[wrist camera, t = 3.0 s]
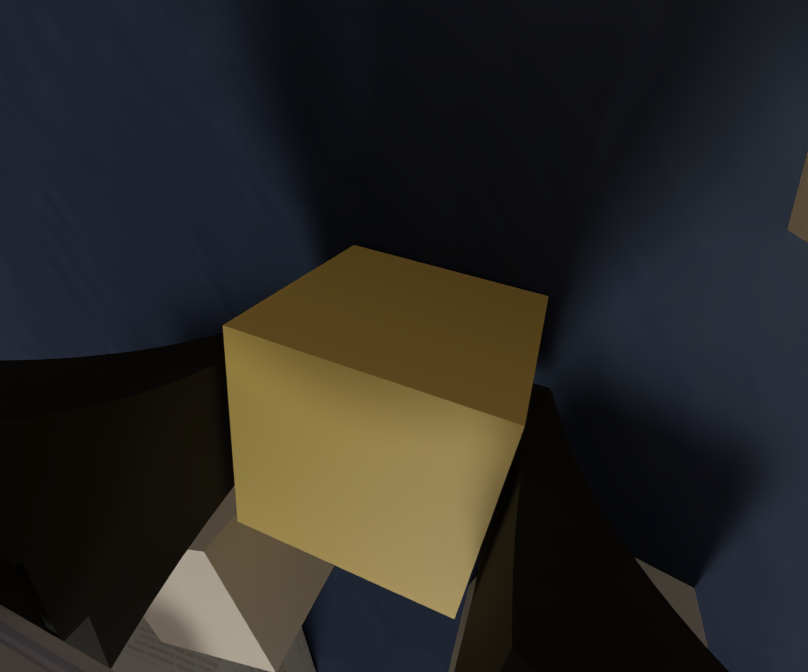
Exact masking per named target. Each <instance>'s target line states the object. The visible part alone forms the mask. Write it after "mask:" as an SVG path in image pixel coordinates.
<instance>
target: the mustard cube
mask: <svg viewBox="0 0 808 672" xmlns="http://www.w3.org/2000/svg"><path fill="white" fill-rule="evenodd" d="M548 297H549V296H546V295H542V294H538V293H534V292H531V291H527V290H523V289H519V288H515V287H512V286H508V285H504V284H500V283H496V282H493V281H489V280H485V279H481V278H477V277H474V276H470V275H466V274H462V273H459V272H455V271H451V270H447V269H443V268H440V267H436V266H432V265H428V264H424V263H421V262H417V261H413V260H409V259H405V258H402V257H398V256H394V255H390V254H386V253H383V252H379V251H375V250H371V249H368V248H364V247H360V246H356V245H353V246H352V247H350V248H348V249H347V250H345V251H343V252H342V253H340V254H338V255H337V256H335V257H334V258H332V259H330V260H329V261H327V262H325V263H324V264H322V265H320V266H319V267H317V268H316V269H314V270H312V271H311V272H309V273H307V274H306V275H304V276H302V277H301V278H299V279H298V280H296V281H294V282H293V283H291V284H289V285H288V286H286V287H284V288H283V289H281V290H280V291H278V292H276V293H275V294H273V295H271V296H270V297H268V298H266V299H265V300H263V301H262V302H260V303H258V304H257V305H255V306H253V307H252V308H250V309H248V310H247V311H245V312H244V313H242V314H240V315H239V316H237V317H235V318H234V319H232V320H230V321H229V322H227V323H226V324H224V325H223V336H224V349H225V362H226V375H227V389H228V402H229V415H230V428H231V442H232V455H233V468H234V481H235V494H236V508H237V521H238V522H240V523H242V524H244V525H247V526H249V527H251V528H253V529H255V530H258V531H260V532H262V533H264V534H267V535H269V536H271V537H273V538H275V539H278V540H280V541H282V542H284V543H287V544H289V545H291V546H293V547H295V548H298V549H300V550H302V551H304V552H306V553H309V554H311V555H313V556H315V557H318V558H320V559H322V560H324V561H326V562H329V563H331V564H333V565H335V566H338V567H340V568H342V569H344V570H346V571H349V572H351V573H353V574H355V575H358V576H360V577H362V578H364V579H366V580H369V581H371V582H373V583H375V584H378V585H380V586H382V587H384V588H386V589H389V590H391V591H393V592H395V593H398V594H400V595H402V596H404V597H406V598H409V599H411V600H413V601H415V602H417V603H420V604H422V605H424V606H426V607H429V608H431V609H433V610H435V611H437V612H440V613H442V614H444V615H446V616H449V617H451V618H453V619H454V618H455V616H456V613H457V610H458V607H459V605H460V602H461V599H462V596H463V594H464V591H465V588H466V586H467V583H468V580H469V577H470V575H471V572H472V569H473V566H474V564H475V561H476V558H477V555H478V553H479V550H480V547H481V545H482V542H483V539H484V536H485V534H486V531H487V528H488V525H489V523H490V520H491V517H492V514H493V512H494V509H495V506H496V504H497V501H498V498H499V495H500V493H501V490H502V487H503V484H504V482H505V479H506V476H507V474H508V471H509V468H510V465H511V463H512V460H513V457H514V454H515V452H516V449H517V446H518V443H519V441H520V438H521V435H522V433H523V430H524V427H525V422H526V417H527V412H528V406H529V401H530V395H531V390H532V384H533V379H534V374H535V368H536V363H537V357H538V352H539V346H540V341H541V335H542V330H543V325H544V319H545V314H546V308H547V303H548Z"/></svg>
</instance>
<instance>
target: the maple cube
mask: <svg viewBox="0 0 808 672" xmlns="http://www.w3.org/2000/svg"><path fill="white" fill-rule="evenodd" d="M787 230H789V231H790V232H792V233H794V234H795V235H797V236H798V237H800V238H802V239H803V240H805V241H807V242H808V152H807V156H806V160H805V164H804V168H803V172H802V175H801V179H800V183H799V187H798V191H797V195H796V199H795V202H794V206H793V210H792V214H791V218H790V222H789V226H788V229H787Z"/></svg>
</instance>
